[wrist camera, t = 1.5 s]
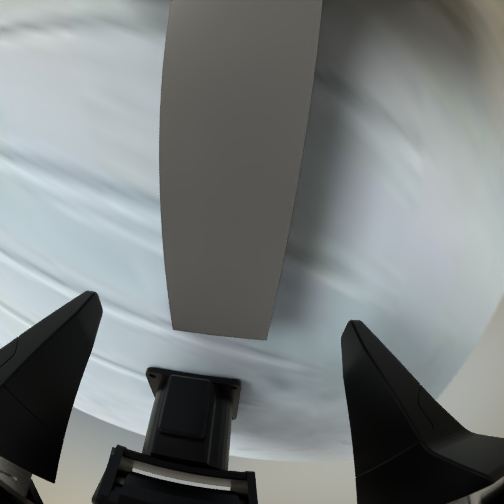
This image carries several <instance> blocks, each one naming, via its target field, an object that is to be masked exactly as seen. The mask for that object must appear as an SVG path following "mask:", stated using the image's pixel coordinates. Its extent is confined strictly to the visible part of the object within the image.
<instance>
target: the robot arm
mask: <svg viewBox="0 0 504 504" xmlns="http://www.w3.org/2000/svg"><path fill="white" fill-rule="evenodd" d="M102 313H103V309H102V306H101V302H100V299H99V296H98V294H97V293H96V292H93V291H85V292H84V293H82V294H81V295H79V296H78V297H76V298H74V299H73V300H71V301H70V302H68V303H67V304H65V305H64V306H62V307H61V308H59V309H58V310H56V311H55V312H53V313H52V314H50V315H49V316H47V317H46V318H44V319H43V320H41V321H40V322H38V323H37V324H35V325H34V326H33V327H31V328H30V329H28V330H27V331H25V332H24V333H23V334H21V335H20V336H19V337H17V338H15V339H14V340H13V341H11V342H10V343H8V344H7V345H6V346H4V347H3V348H1V349H0V504H43V502H42V500H41V498H40V496H39V494H38V492H37V490H36V488H35V485H34V483H33V481H32V479H31V476H32V474H34V475H36V476H38V477H40V478H43V479H45V480H47V481H49V482H52V483H55V479H56V474H57V468H58V463H59V459H60V454H61V449H62V445H63V439H64V436H65V432H66V428H67V425H68V421H69V417H70V414H71V411H72V407H73V404H74V401H75V397H76V394H77V391H78V388H79V385H80V382H81V379H82V376H83V373H84V370H85V368H86V365H87V362H88V359H89V357H90V354H91V351H92V348H93V345H94V342H95V338H96V334H97V331H98V327H99V324H100V320H101V317H102ZM341 348H342V365H343V379H344V386H345V393H346V399H347V406H348V413H349V421H350V428H351V437H352V445H353V455H354V465H355V476H356V491H357V504H504V438H498V437H492V436H486V435H480V434H475V433H472V432H470V431H468V430H467V429H465V428H464V427H463V426H462V425H461V424H460V423H459V422H457V420H455V419H454V418H453V417H452V416H451V415H450V414H449V413H448V412H447V411H446V410H445V409H444V408H442V406H441V405H440V404H438V403H437V402H436V401H435V400H434V398H433V397H432V396H431V395H430V394H429V393H428V392H427V391H426V390H425V389H424V388H423V387H422V385H420V383H419V382H418V381H417V380H416V379H415V378H414V377H413V376H412V374H411V373H410V372H409V371H408V370H407V369H406V368H405V367H404V366H403V365H402V364H401V363H400V361H399V360H398V359H397V358H396V357H395V356H394V355H393V354H392V353H391V352H390V351H389V350H388V349H387V347H386V346H385V345H384V344H383V343H382V342H381V341H380V340H379V339H378V338H377V337H376V336H375V335H374V334H373V333H372V332H371V331H370V330H369V328H368V327H367V326H366V325H365V324H364V323H363V322H362V321H360V320H350V321H349V322H348V323H347V326H346V328H345V330H344V332H343V334H342V337H341ZM146 377H147V379H148V382H149V384H150V387H151V389H152V392H153V394H154V397H155V401H154V405H153V409H152V413H151V417H150V421H149V425H148V429H147V433H146V438H145V442H144V446H143V451H142V453H139V452H135V451H132V450H129V449H127V448H126V447H124V446H120V445H117V447H116V448H114V447H112V451H111V455H110V458H109V462H108V465H107V468H106V471H105V472H104V474H103V476H102V479H101V481H100V483H99V485H98V487H97V489H96V491H95V493H94V495H93V497H92V503H93V504H258V500H257V490H256V479H255V472H251V471H245V472H237V471H228V461H229V448H230V435H231V422H232V420H234V419H236V417H237V411H238V404H239V397H240V391H241V382H240V381H238V380H235V379H225V378H216V377H208V376H200V375H193V374H187V373H180V372H174V371H169V370H163V369H158V368H153V367H149V368H147V371H146ZM133 468H136V469H139V470H143V471H146V472H150V473H154V474H157V475H162V476H166V477H170V478H175V479H180V480H185V481H191V482H196V483H203V484H209V485H217V486H226V487H231V489H230V491H227V490H218V489H210V488H203V487H196V486H191V485H185V484H180V483H175V482H170V481H166V480H161V479H158V478H153V477H149V476H146V475H142V474H139V473H136V472H132V469H133Z"/></svg>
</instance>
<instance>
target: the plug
mask: <svg viewBox="0 0 504 504" xmlns="http://www.w3.org/2000/svg"><path fill="white" fill-rule="evenodd" d="M322 2H323V0H171V6H170V13H169V19H168V26H167V34H166V42H165V51H164V61H163V72H162V86H161V103H160V133H159V174H160V205H161V224H162V238H163V251H164V262H165V272H166V281H167V290H168V298H169V306H170V313H171V320H172V327H173V330H179V331H185V332H193V333H200V334H208V335H216V336H225V337H235V338H245V339H256V340H267V336H268V332H269V327H270V323H271V318H272V313H273V309H274V304H275V299H276V295H277V290H278V285H279V280H280V275H281V270H282V265H283V260H284V255H285V250H286V245H287V240H288V235H289V229H290V224H291V218H292V213H293V207H294V202H295V196H296V191H297V185H298V179H299V173H300V167H301V161H302V155H303V149H304V142H305V136H306V130H307V123H308V116H309V109H310V102H311V95H312V88H313V81H314V73H315V65H316V57H317V49H318V40H319V31H320V22H321V12H322Z"/></svg>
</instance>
